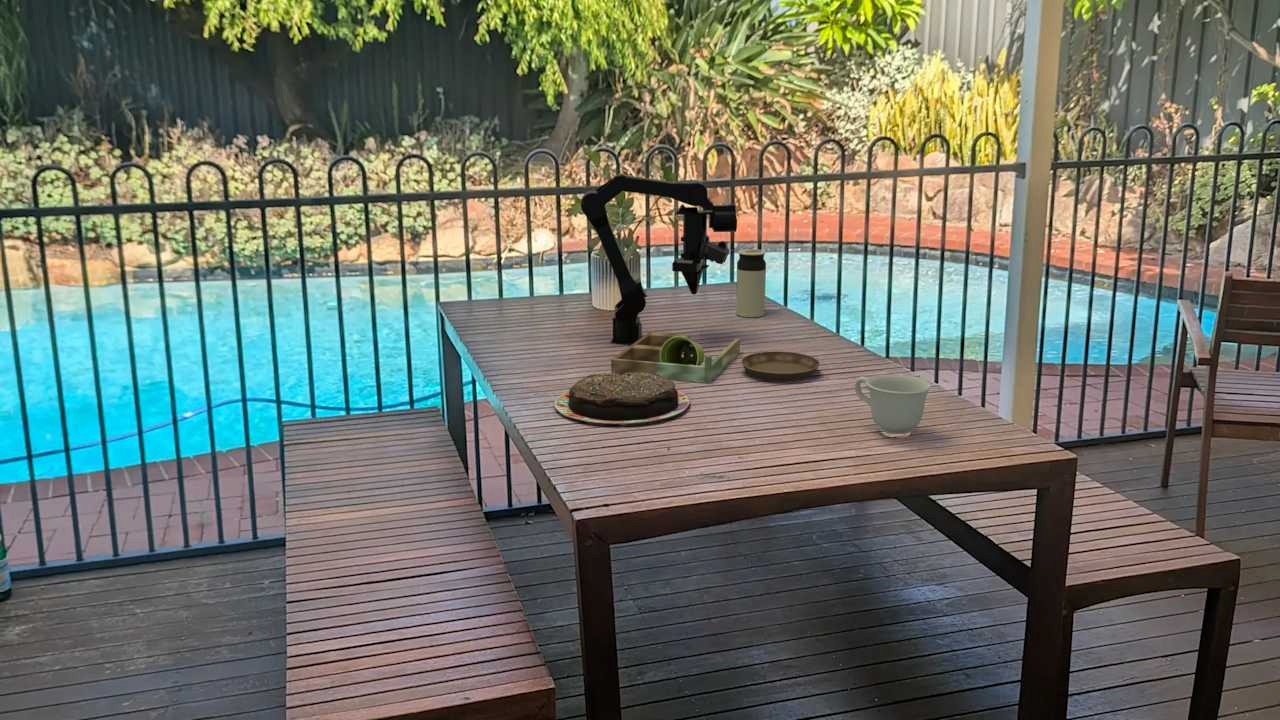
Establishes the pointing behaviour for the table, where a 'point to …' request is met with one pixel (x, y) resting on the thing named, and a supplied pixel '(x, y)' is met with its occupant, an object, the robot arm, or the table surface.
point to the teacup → (895, 401)
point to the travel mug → (751, 283)
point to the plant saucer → (780, 366)
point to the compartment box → (647, 360)
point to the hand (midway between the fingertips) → (694, 294)
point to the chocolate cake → (622, 400)
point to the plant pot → (674, 349)
